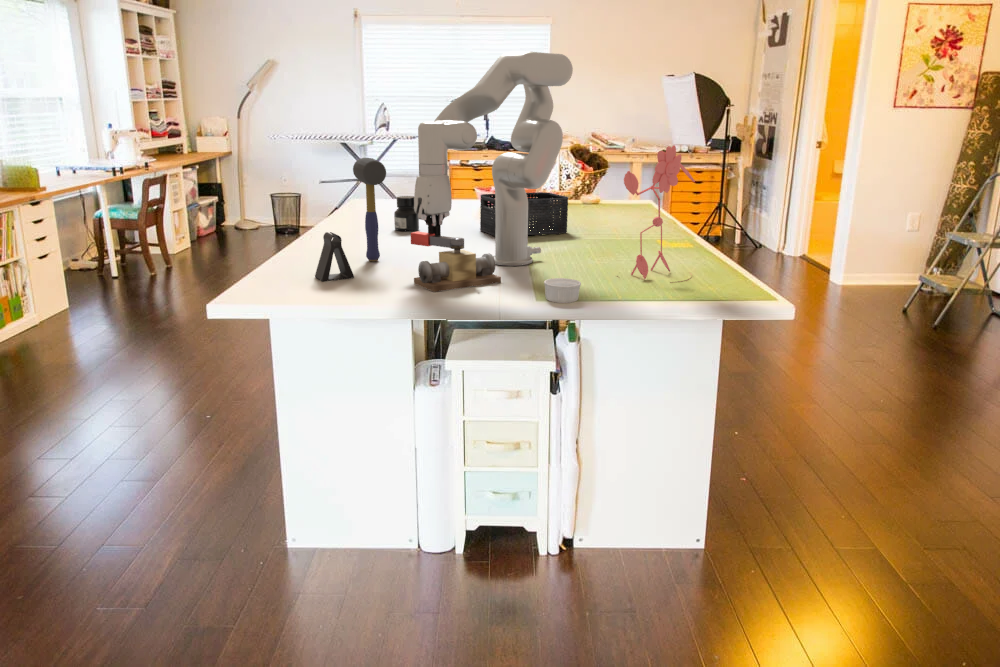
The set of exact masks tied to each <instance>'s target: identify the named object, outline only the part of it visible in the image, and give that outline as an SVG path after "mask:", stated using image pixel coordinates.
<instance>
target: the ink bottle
mask: <svg viewBox="0 0 1000 667" xmlns="http://www.w3.org/2000/svg"><path fill="white" fill-rule="evenodd" d="M396 208H397V209H396V210H395V211H394V213H393V215H394V217H393V218H394V230H396V231H398V232H417V231H419V230H420V219H418V214H417V213H415V211H414V196H413V195H398V196H396Z"/></svg>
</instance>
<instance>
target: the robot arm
mask: <svg viewBox="0 0 1000 667" xmlns="http://www.w3.org/2000/svg"><path fill="white" fill-rule="evenodd" d="M572 64H573V63H572V61H571V60H570V58H568V56H567V55H565V54H562V53H553V52H552V53H550V52H542V51H541V52H539V51H526V50H525V51H509V52H505V53H503V54H501V55H500V56H499V57H497V59H496V60H495V61H494V62H493V64H492V65H491V66H490V67H489V69H488V70H487V71H486V72H485V74H483V76H482V77H481V78H480V80H478V82H477V83H476V85H474V86H473V87H472V88H471V89H469V90H467V91H465V93H463V94H461V95H460V96H459V97H457V98H455V99H454V100H452V102H451V103H449V104H448V105H447V106H446V107H444V109H443V110H442V111H441V112H440V113H439V115H437V117H436V118H435V119H434V121H423V122H420V123H419V124H418V127H417V129H418V130H417V138H418V139H417V140H418V144H417V145H418V176H416V180H415V185H414V194H413V195H414V211H415V213H417V214H418V219H419V221H420V220H421V221H424V222H425V225H426V226H427V233H433V234H435V235H438V236H442V232H441V226H442V225H443V221H444V219H445V218H447V217H449V216H451V215H450V214H451V213H450V212H451V211H452V202H453V201H452V190H451V187H452V186H451V182H450V176H449V174H448V171H449V168H450V167H449V164H448V161H449V160H448V150H453V151H466V150H469V149H471V148H473V146H474V145H475V144H476V142H477V139H478V133H477V132H478V131H477V129H476V127H475V126H474V125H472V124H471V123H470V122H471V121H473V120H474V119H476V118H480V117H483V116H486V115H488V114H490V113H491V114H492V113H493V112H495V111H497V110H498V109H499V108H500V107H501V105H502V104H503V103H504V102H505V101H506V99H508V97H509V96H510V95H511V93H512V92H513V91H514V89H515V88H516V87H517V86H519V85H523V89H524V93H525V94H524V96H525V100H524V103H523V106H522V108H521V111H520V113H519V116H518V118H517V120H516V123H515V125H514V127H513V129H512V132H511V134H510V143H511V146H512V147H513V148H514V149H515V150H516V151H517V152H504V153H501V154H500V155H498V156H497V157H496V158H495V159H494V161H493V162H492V167H491V175H492V179H493V180H492V181H493V186H494V194H495V236H494V237H495V238H494V239H495V241H494V243H495V245H494V246H495V250H494V254H495V255H492V256H493V257H494V260H495V265H498V266H507V267H508V266H509V267H510V266H511V267H512V266H513V267H514V266H515V267H517V266H526V265H530V264H532V263H533V257H531V256H532V255H536V254H540V253H541V252H542V247H540V246H535V247H532V246H530V245H528V244H529V242H528V237H529V236H528V197H527V194H526V193H527V192H526V190H527V189H528V190H536V189H539V188H541V187H542V186H544V184H545V183H546V182H547V180H548V179H549V177H550V174H551V172H552V170H553V167H554V165H555V164H556V161H557V158H558V156H559V153H560V152H561V150H562V149H561V148H562V144H563V129H562V127H561V125H560V124H559V123H558V122H557V121H556V120H553V119H551V117H552V115H553V111H554V101H553V97H552V94H551V91H550V87H562V86H565V85H566V84H567V83H568V82H570V80H571V78H572V76H573V72H574V71H573V70H574V68H573V65H572Z"/></svg>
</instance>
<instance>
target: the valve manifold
mask: <svg viewBox="0 0 1000 667" xmlns="http://www.w3.org/2000/svg"><path fill="white" fill-rule="evenodd" d="M438 256H439V257H438V262H433V263H432V262H431V263H430V262H429V261H428V260H424V261H423V260H422V261H420V262H419V264H418V270H417V272H418V276H417V277H413V283H414V285H417V286H419V287H421V288H423V289H426V290H429V291H431V292H433V293H436V292H437V293H438V292H445V291H449V290H458V289H464V288H471V287H478V286H487V285H493V284H500V283H501V282H502V276H500V275H497V274H495V270H496V264H495V260H494V257H493V256H494V255H493V254H491V253H489V252H488V253H483V254H482V255H481V257H477V254H476V253H475V252H471V251H469V250H466V249H452V250H446V251H445V250H443V251H439V252H438Z"/></svg>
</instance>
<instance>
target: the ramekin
mask: <svg viewBox="0 0 1000 667" xmlns="http://www.w3.org/2000/svg"><path fill="white" fill-rule="evenodd" d="M543 284H544V296H545V299H546V300H547V301H548V302H551V303H558V304H569V303H575V302H577V301H579V297H580V296H579V295H580V290H581V286H582V283H581V281H580V280H577V279H574V278H573V279H572V278H564V277H561V278H560V277H558V278H557V277H556V278H548V279H545V280H544V281H543Z"/></svg>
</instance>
